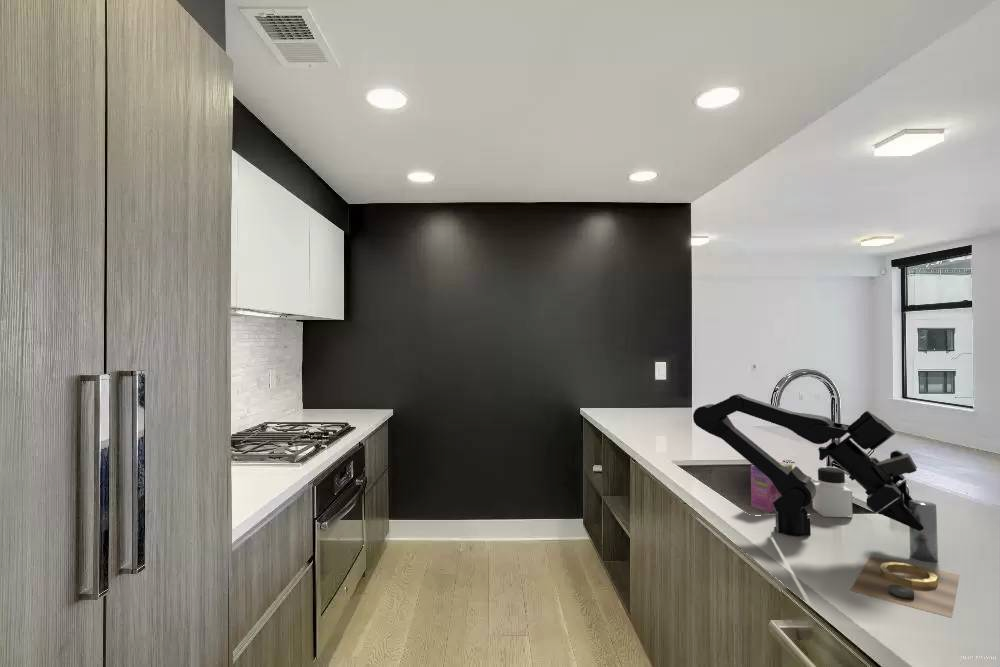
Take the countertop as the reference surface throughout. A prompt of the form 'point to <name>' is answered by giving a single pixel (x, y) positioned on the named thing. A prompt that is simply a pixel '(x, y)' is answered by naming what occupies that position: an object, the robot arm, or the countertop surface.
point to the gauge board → (908, 588)
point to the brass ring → (914, 583)
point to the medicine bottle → (832, 494)
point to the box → (763, 490)
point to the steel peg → (924, 531)
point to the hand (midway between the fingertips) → (922, 523)
